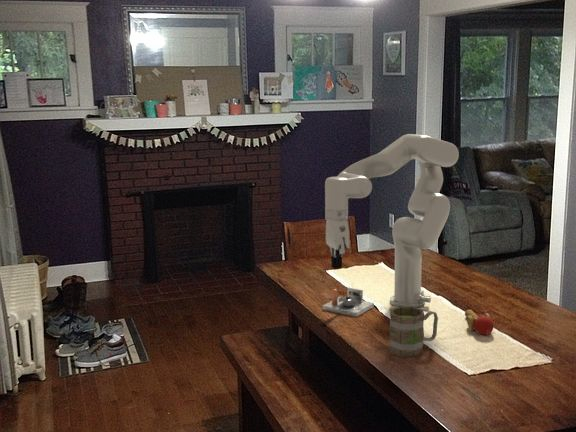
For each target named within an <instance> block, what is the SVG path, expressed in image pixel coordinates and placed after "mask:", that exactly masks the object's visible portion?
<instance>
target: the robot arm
mask: <svg viewBox="0 0 576 432" xmlns="http://www.w3.org/2000/svg"><path fill="white" fill-rule="evenodd" d="M459 154H460V153H459V148H457V146H456V145H455V144H454V143H452V142H449V141H445V140H443V139H439V138H435V137H433V136H429V135H424V134H412V133H406V134H404V135H402V136H400V137H398V139H396V140H395V141H393V142H392V143H391V144H389V145H387V146H386V147H385V148H384V149H382V150H381V151H380V152H378V153H375V154H374V155H370V156H368V157H365V158H362V159H361V160H358V161H357V162H354V163H352V164H350V165H349V166H347V167H346V168H345V169H343V170H342V171H341V172H339V173H338V175H337V176H330V177H327V178H326V179H325V182H324V199H325V200H324V204H325V205H324V213H325V215H324V216H325V217H324V219H325V220H326V223H325V243H326V245H327V246H328V247H329V249H330V255H331V260H330V262H331V265H330V266H331V268H332V269H334V270H336V269H337V270H338V269H342V268H343V255H345V253H346V250H348V249H350V229H349V221H348V219H349V199H364V198H367V197H368V196H369V195H370V194H371V193H372V190H373V184H372V181H371V180H370V179H373V178H379V177H385V176H389V175H392V174H394V173H395V172H397V171H398V170H399V169H401V168H403V167H404V166H405V165H406V164H407V163H409V162H410V161H411V160H417V161H418V165H419V169H420V170H419V171H420V172H419V174H420V175H419V177H418V180H417V183H416V185H415V187H414V189H413V191H412V194H411V196H410V198H409V200H408V203H407V209H408V212H409V213H410V214H412V215H414V216H416V217H419V218H422V220H421V219H418V218H415V217H414V218H413V217H410V216H403V217H399V218H397V219H396V220H395V222H393V225H392V231H391V232H392V233H391V234H392V239H393V244H394V245H393V246H394V247H393V248H394V291H393V292H394V293H393V295H392V296H391V297H390V298H389V302H390V303H391V304H392V305H394V306H396V307H399V306H408V307H415V308H418V307H421V306H424V305H425V303H431V301H432V297H431V295H426V294H425V293H424V290H422V258H423V257H422V256H423V255H422V250H421V249H423V250H427V249H431V248H432V247H433V246H435V244H436V243H437V241H438V240H439V237H440V235H441V233H442V231H443V229H444V227H445V224H446V222H447V221H448V217H449V215H450V211H451V203H450V200H449V198H448V196H446V195H444V194H442V193H440V192H441V189H442V187H443V183H444V175H443V170H442V167H443V168H450V167H453V166H454V165H455V164H456V163H457V162H458V160H459V157H460V155H459Z"/></svg>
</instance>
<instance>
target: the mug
mask: <svg viewBox="0 0 576 432" xmlns="http://www.w3.org/2000/svg"><path fill="white" fill-rule="evenodd" d="M432 315H433V322H432V323H433V324H432V326H433V327H432V328H433V329H432V334H431V336H430V337H426V336H425V331H424V329H425V328H424V327H425V326H424V322H425V321H426V320H428V318H429V317H430V316H432ZM389 316H390V320H389V345H388V346H389V348H388V349H389V353H391V354H393V355H396V356H398V357H408V358H410V357H411V358H414V357H415V358H416V357H417V356H420V355H423V354H424V342H432V341H434V340H436V337H437V333H438V332H437V331H438V321H439V317H438V314H437V312H435V311H432V310H430V311H427V312H426V313H425V312H424V309H421V308H418V307H408V306H396V307H394V308H389Z"/></svg>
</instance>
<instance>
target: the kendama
mask: <svg viewBox="0 0 576 432" xmlns="http://www.w3.org/2000/svg"><path fill="white" fill-rule="evenodd" d="M464 316H465V317H466V324H467V327H468V329H469V331H474V330H475V332H476V333H478V334H479V335H482V336H487V335H490V334H491V333H492V332H493V330H494V327H495V326H494V321H493V320H492V319H491V315H490V314H489V313H484V314H483V315H480V316H478V315H477V314H476V313H475V312H474V311H473V310H472V309H466V311H465V312H464Z"/></svg>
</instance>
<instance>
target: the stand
mask: <svg viewBox="0 0 576 432" xmlns="http://www.w3.org/2000/svg"><path fill="white" fill-rule="evenodd" d="M346 289H347V291H346V293H347V294H346V295H347V296H350V297H354V298H355V299H356V304H355V305H354V306H351V307H344V306H339V307H337V308H335V309H334V308H332V306H333V305H332V300H330V301H329V302H326V303H325V304H323V305H322V311H323V310H324V311H328V312H333V313H337V314H341V315H346V316H351V317H355V318H358V317H359V316H361V315H362V314H364V313H366V312H367V311H369V310H371V309H373V308H374V306H375V305H374V302H371V301H366V300H364V290H363V289H359V288H356V287H355V288H354V287H347V288H346ZM340 297H342V296H338V303H339V298H340Z"/></svg>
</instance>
